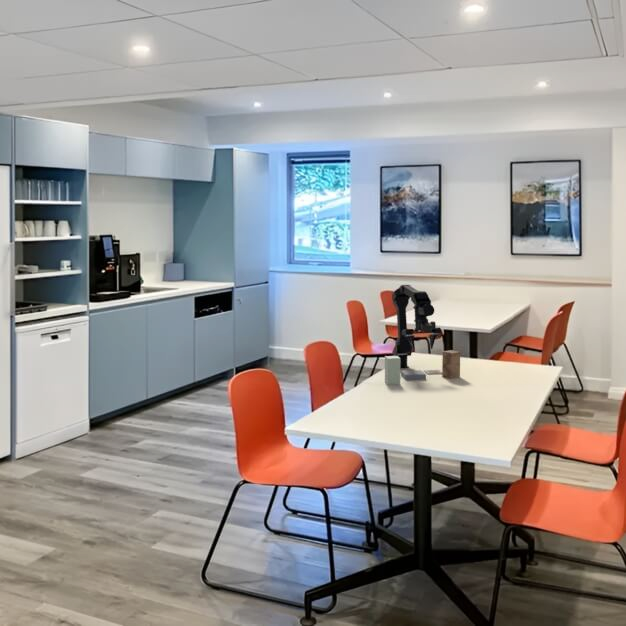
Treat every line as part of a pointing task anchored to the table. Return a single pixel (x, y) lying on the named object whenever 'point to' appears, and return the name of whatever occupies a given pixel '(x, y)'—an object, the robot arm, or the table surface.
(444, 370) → the walnut pillar
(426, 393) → the table surface
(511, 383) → the table surface
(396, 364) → the sage pillar
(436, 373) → the tile
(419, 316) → the robot arm
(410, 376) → the slate block
